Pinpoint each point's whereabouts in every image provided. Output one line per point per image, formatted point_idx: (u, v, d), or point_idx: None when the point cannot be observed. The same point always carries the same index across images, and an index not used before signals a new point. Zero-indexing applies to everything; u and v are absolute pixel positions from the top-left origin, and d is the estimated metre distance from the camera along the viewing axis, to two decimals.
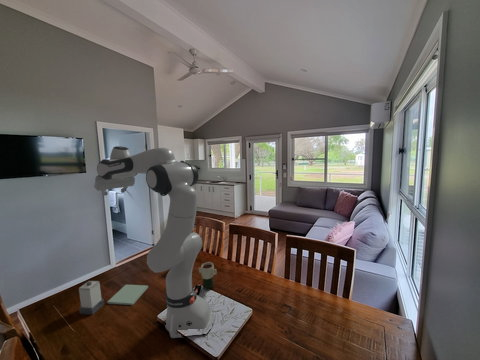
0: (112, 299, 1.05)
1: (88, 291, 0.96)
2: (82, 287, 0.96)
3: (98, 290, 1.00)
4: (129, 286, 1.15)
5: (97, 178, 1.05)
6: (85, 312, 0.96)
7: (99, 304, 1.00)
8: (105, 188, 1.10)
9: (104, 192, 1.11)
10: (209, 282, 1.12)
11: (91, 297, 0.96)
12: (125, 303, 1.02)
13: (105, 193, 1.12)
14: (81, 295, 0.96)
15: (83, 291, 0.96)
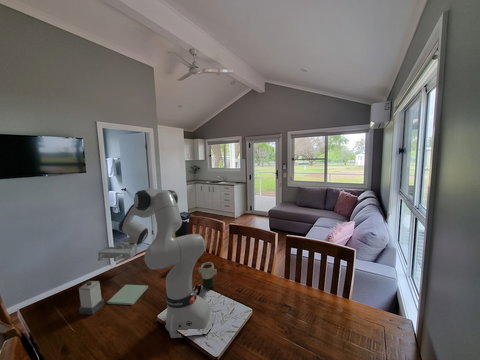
0: (112, 299, 1.05)
1: (88, 291, 0.96)
2: (82, 287, 0.96)
3: (98, 290, 1.00)
4: (129, 286, 1.15)
5: None
6: (85, 312, 0.96)
7: (99, 304, 1.00)
8: (104, 251, 1.16)
9: (100, 255, 1.13)
10: (209, 282, 1.12)
11: (91, 297, 0.96)
12: (125, 303, 1.02)
13: (100, 256, 1.12)
14: (81, 295, 0.96)
15: (83, 291, 0.96)
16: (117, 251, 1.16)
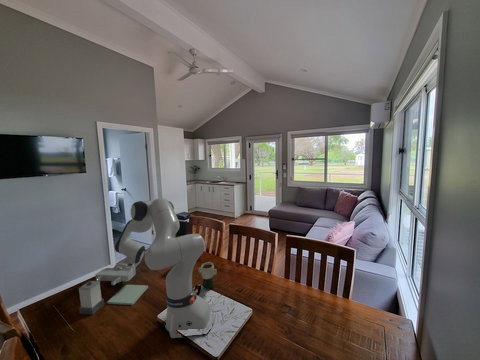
0: (112, 299, 1.05)
1: (88, 291, 0.96)
2: (82, 287, 0.96)
3: (98, 290, 1.00)
4: (129, 286, 1.15)
5: None
6: (85, 312, 0.96)
7: (99, 304, 1.00)
8: (102, 273, 1.14)
9: (98, 278, 1.10)
10: (209, 282, 1.12)
11: (91, 297, 0.96)
12: (125, 303, 1.02)
13: (97, 279, 1.10)
14: (81, 295, 0.96)
15: (83, 291, 0.96)
16: (115, 273, 1.13)
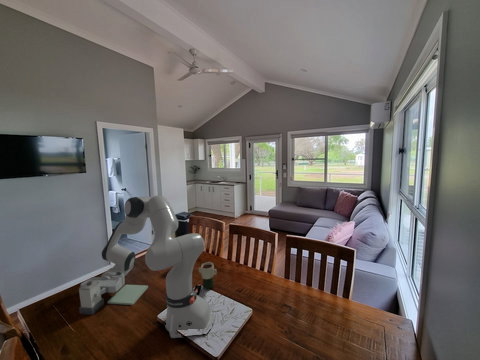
0: (112, 299, 1.05)
1: (88, 291, 0.96)
2: (82, 287, 0.96)
3: (98, 290, 1.00)
4: (129, 286, 1.15)
5: None
6: (85, 312, 0.96)
7: (99, 304, 1.00)
8: None
9: None
10: (209, 282, 1.12)
11: (91, 297, 0.96)
12: (125, 303, 1.02)
13: None
14: (81, 295, 0.96)
15: (83, 291, 0.96)
16: (101, 284, 1.04)
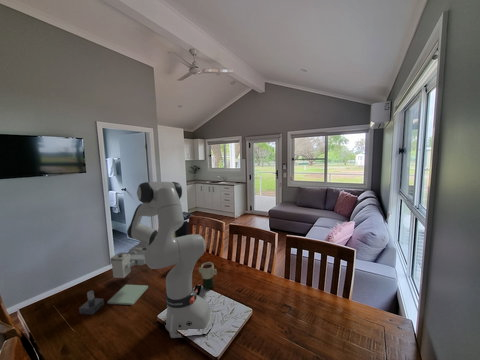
0: (112, 299, 1.05)
1: (120, 262, 1.03)
2: (114, 258, 1.03)
3: (128, 262, 1.07)
4: (129, 286, 1.15)
5: None
6: (85, 312, 0.96)
7: (99, 304, 1.00)
8: None
9: None
10: (209, 282, 1.12)
11: (123, 268, 1.03)
12: (125, 303, 1.02)
13: None
14: (113, 266, 1.03)
15: (115, 262, 1.03)
16: (130, 257, 1.11)
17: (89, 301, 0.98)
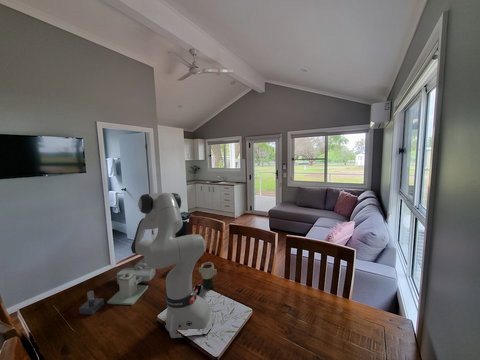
0: (112, 299, 1.05)
1: (127, 282, 1.05)
2: (121, 278, 1.06)
3: None
4: None
5: None
6: (85, 312, 0.96)
7: (99, 304, 1.00)
8: (123, 273, 1.14)
9: None
10: (209, 282, 1.12)
11: (130, 287, 1.06)
12: (125, 303, 1.02)
13: None
14: (121, 285, 1.06)
15: (123, 282, 1.06)
16: (136, 273, 1.13)
17: (89, 301, 0.98)
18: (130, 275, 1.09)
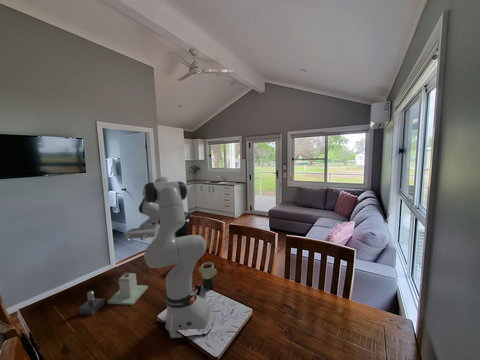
0: (112, 299, 1.05)
1: (127, 282, 1.05)
2: (121, 278, 1.06)
3: (135, 281, 1.10)
4: None
5: None
6: (85, 312, 0.96)
7: (99, 304, 1.00)
8: (130, 232, 1.24)
9: (127, 236, 1.21)
10: (209, 282, 1.12)
11: (130, 287, 1.06)
12: (125, 303, 1.02)
13: (127, 237, 1.20)
14: (121, 285, 1.06)
15: (123, 282, 1.06)
16: (142, 231, 1.23)
17: (89, 301, 0.98)
18: (130, 275, 1.09)
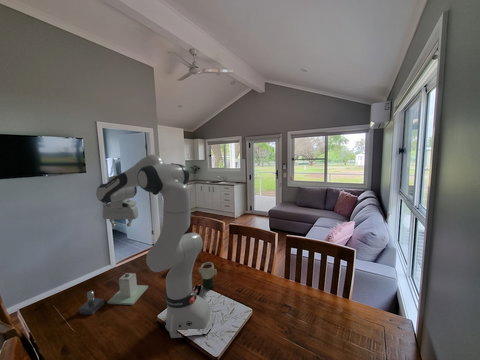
0: (112, 299, 1.05)
1: (127, 282, 1.05)
2: (121, 278, 1.06)
3: (135, 281, 1.10)
4: None
5: (103, 206, 1.17)
6: (85, 312, 0.96)
7: (99, 304, 1.00)
8: (109, 217, 1.16)
9: (111, 222, 1.17)
10: (209, 282, 1.12)
11: (130, 287, 1.06)
12: (125, 303, 1.02)
13: (112, 223, 1.17)
14: (121, 285, 1.06)
15: (123, 282, 1.06)
16: (121, 216, 1.15)
17: (89, 301, 0.98)
18: (130, 275, 1.09)
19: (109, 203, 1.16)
